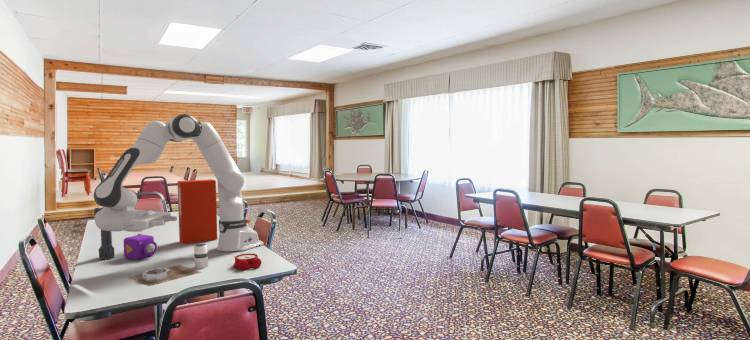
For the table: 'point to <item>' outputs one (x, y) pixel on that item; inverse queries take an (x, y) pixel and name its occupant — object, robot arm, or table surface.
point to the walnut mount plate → (175, 273)
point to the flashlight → (105, 242)
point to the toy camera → (139, 246)
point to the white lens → (200, 256)
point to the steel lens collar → (156, 274)
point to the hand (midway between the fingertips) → (170, 220)
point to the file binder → (197, 210)
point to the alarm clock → (247, 261)
